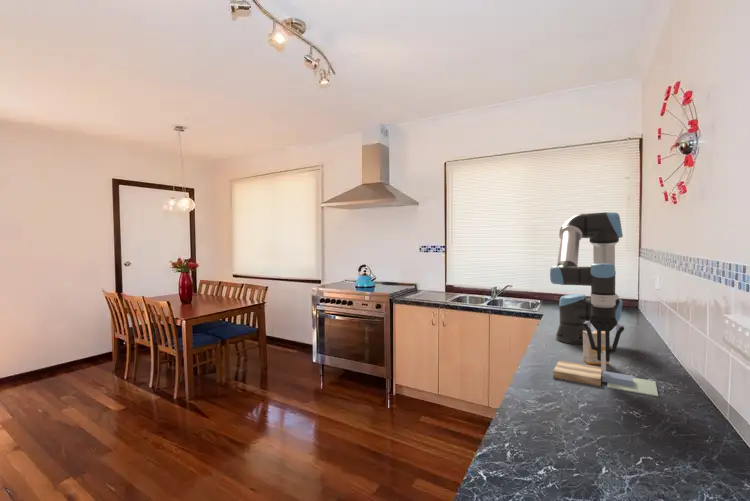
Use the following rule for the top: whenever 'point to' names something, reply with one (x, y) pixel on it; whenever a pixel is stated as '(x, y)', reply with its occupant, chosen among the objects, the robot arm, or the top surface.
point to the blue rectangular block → (617, 378)
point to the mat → (638, 387)
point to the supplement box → (588, 352)
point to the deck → (578, 373)
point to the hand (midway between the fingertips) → (603, 369)
